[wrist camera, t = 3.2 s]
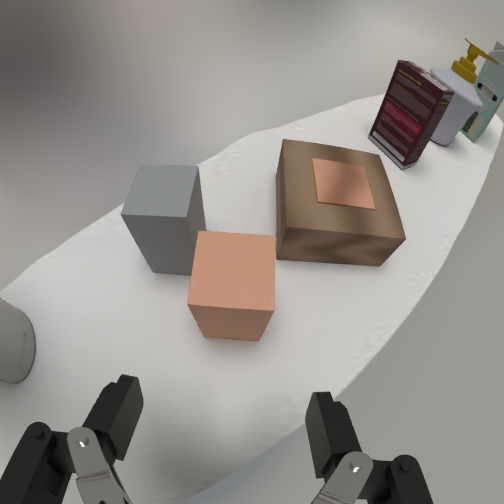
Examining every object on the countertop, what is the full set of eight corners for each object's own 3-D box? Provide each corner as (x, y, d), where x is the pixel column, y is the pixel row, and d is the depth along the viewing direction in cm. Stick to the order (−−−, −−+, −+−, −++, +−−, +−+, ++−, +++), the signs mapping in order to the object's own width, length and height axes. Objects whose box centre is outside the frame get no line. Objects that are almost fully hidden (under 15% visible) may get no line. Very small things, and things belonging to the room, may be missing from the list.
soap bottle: (451, 162, 41) (506, 68, 20) (401, 124, 45) (443, 25, 23) (457, 141, 46) (500, 63, 24) (414, 110, 50) (450, 28, 28)
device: (464, 116, 56) (500, 45, 30) (482, 132, 53) (521, 62, 27) (452, 123, 51) (494, 37, 24) (473, 143, 48) (521, 58, 22)
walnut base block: (276, 259, 28) (286, 225, 23) (276, 175, 34) (283, 137, 29) (379, 266, 29) (407, 238, 23) (362, 186, 35) (379, 153, 29)
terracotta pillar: (204, 336, 24) (187, 304, 15) (209, 286, 27) (198, 230, 18) (258, 341, 24) (274, 310, 16) (260, 290, 27) (275, 236, 18)
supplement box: (415, 164, 39) (457, 93, 25) (401, 171, 37) (445, 92, 23) (381, 132, 42) (412, 61, 28) (365, 137, 41) (397, 58, 27)
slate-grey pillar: (153, 272, 27) (120, 214, 18) (162, 230, 29) (139, 165, 20) (200, 276, 27) (186, 217, 18) (206, 233, 29) (198, 166, 21)
